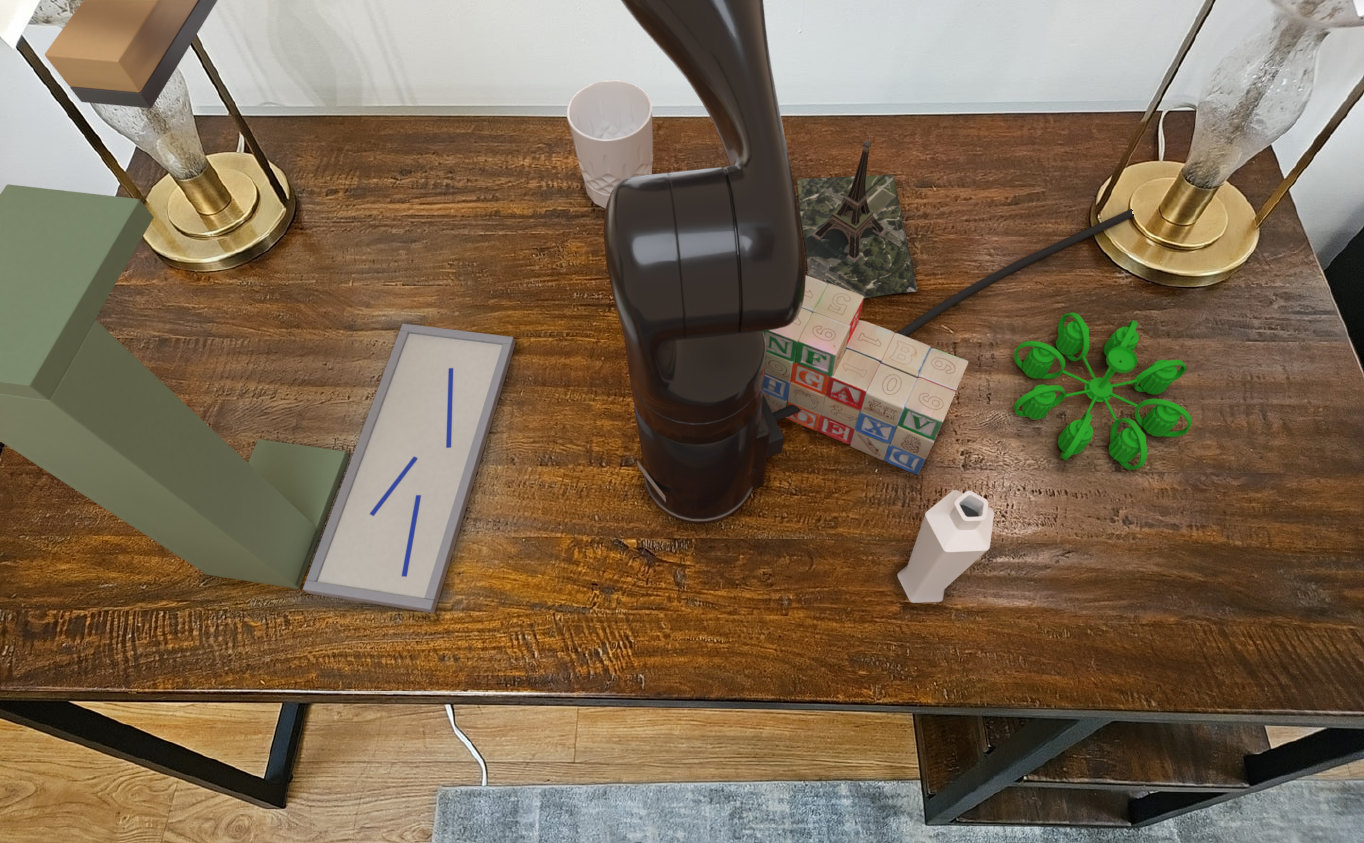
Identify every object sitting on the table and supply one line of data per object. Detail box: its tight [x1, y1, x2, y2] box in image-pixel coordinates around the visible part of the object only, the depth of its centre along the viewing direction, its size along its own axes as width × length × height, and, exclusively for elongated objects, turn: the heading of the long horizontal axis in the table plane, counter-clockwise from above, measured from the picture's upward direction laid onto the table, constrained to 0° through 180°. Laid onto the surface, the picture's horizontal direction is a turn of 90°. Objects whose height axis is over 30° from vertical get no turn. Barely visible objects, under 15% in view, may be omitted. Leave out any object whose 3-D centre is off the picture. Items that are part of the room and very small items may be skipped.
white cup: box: [566, 79, 654, 210], centre depth 86 cm, size 8×8×10 cm
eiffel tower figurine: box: [796, 131, 919, 299], centre depth 80 cm, size 15×10×13 cm
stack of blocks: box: [763, 274, 969, 476], centre depth 73 cm, size 21×6×12 cm, turn 62°
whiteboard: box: [302, 323, 516, 614], centre depth 76 cm, size 26×11×1 cm, turn 171°
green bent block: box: [0, 184, 351, 590], centre depth 60 cm, size 12×8×32 cm, turn 171°
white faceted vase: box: [897, 489, 995, 604], centre depth 63 cm, size 5×4×15 cm
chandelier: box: [1013, 312, 1193, 471], centre depth 74 cm, size 15×15×7 cm
